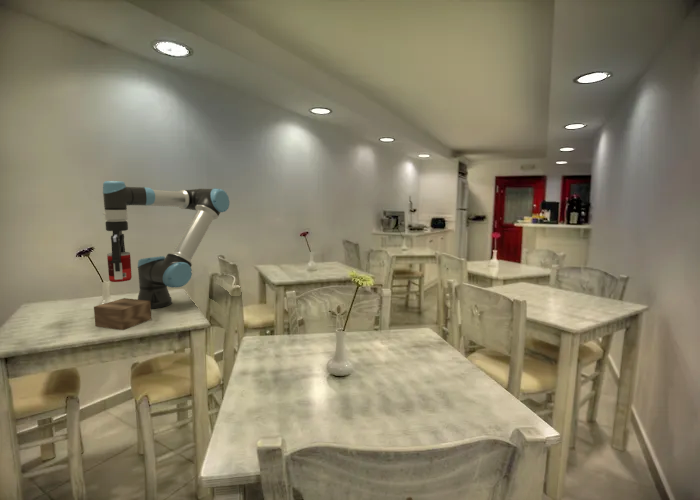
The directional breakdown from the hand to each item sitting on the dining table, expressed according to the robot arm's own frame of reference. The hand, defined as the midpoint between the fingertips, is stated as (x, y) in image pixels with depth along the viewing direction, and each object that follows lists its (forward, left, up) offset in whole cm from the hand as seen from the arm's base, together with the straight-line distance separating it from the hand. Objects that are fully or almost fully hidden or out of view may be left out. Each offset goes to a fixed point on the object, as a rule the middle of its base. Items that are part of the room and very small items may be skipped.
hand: (120, 277), depth 153 cm
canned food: (0, 0, -1) cm, 1 cm away
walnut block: (0, 0, -19) cm, 19 cm away
